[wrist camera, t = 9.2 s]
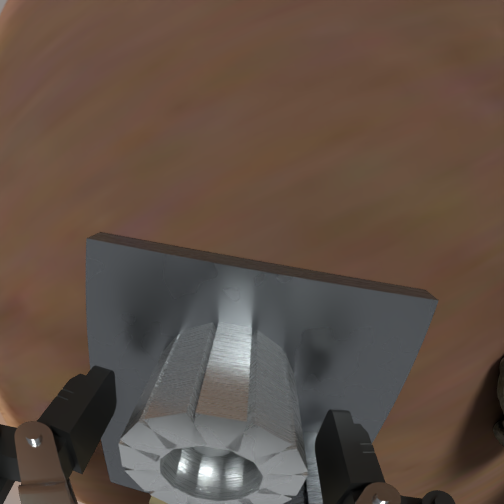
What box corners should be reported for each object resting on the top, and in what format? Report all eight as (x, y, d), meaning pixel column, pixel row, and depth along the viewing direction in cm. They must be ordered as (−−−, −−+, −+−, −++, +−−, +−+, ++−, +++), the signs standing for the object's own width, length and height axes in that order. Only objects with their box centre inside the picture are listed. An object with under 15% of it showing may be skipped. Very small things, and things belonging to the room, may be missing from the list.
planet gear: (307, 335, 12) (331, 428, 7) (276, 433, 13) (280, 521, 8) (163, 310, 12) (112, 391, 7) (159, 413, 13) (128, 496, 8)
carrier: (425, 290, 13) (489, 344, 8) (321, 500, 17) (329, 558, 12) (100, 232, 12) (26, 267, 7) (115, 469, 16) (92, 524, 11)
